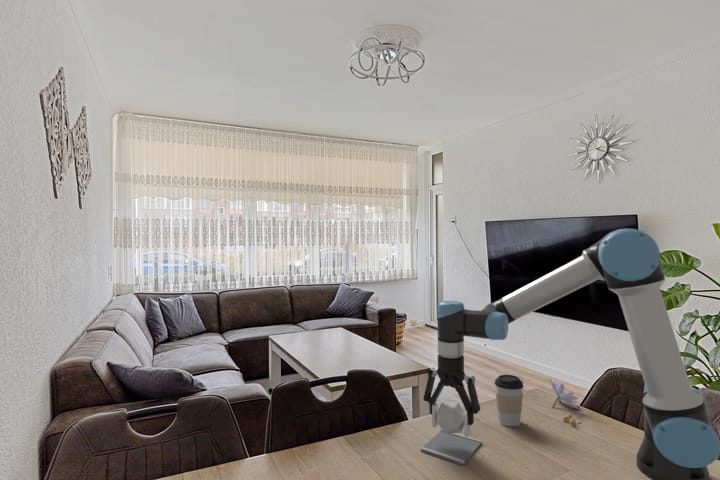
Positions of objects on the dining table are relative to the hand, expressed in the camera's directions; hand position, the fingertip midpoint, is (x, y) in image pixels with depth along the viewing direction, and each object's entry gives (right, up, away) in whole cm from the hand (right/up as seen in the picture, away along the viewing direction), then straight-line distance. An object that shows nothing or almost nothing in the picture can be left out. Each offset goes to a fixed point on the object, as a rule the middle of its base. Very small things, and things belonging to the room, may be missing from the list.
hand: (451, 430), depth 122 cm
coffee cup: (+23, -5, +16) cm, 28 cm away
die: (0, 0, 0) cm, 0 cm away
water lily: (+47, -4, +27) cm, 54 cm away
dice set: (+43, -5, +15) cm, 46 cm away
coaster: (0, -5, 0) cm, 5 cm away
